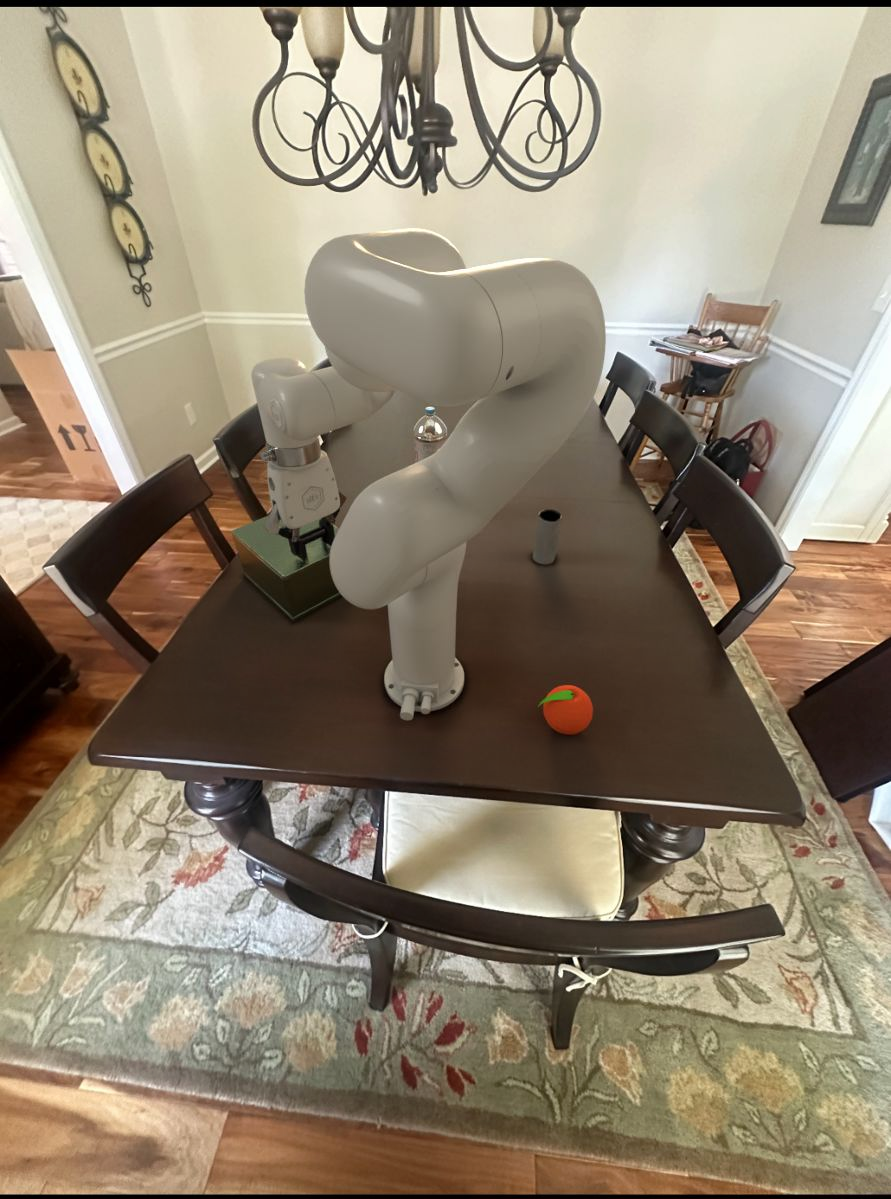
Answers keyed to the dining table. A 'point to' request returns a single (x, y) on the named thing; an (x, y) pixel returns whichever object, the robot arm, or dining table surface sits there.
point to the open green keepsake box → (290, 584)
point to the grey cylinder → (547, 536)
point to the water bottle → (429, 435)
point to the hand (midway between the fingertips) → (314, 548)
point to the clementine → (567, 709)
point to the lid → (285, 546)
